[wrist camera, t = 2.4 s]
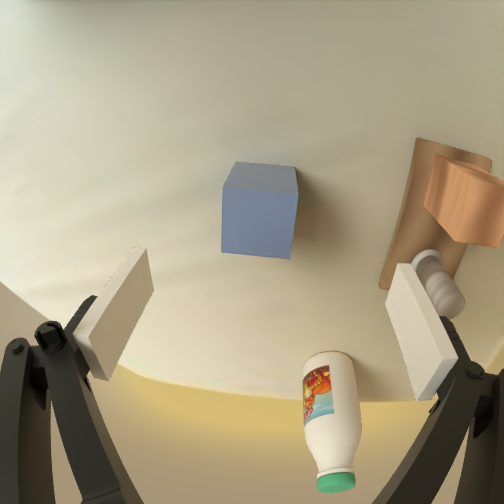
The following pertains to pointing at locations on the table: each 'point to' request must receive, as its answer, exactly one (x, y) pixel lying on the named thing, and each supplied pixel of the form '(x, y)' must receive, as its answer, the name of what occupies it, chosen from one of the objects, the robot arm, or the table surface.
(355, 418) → the milk bottle
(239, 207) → the slate blue cube
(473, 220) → the organizer
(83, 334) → the robot arm
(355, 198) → the table surface
